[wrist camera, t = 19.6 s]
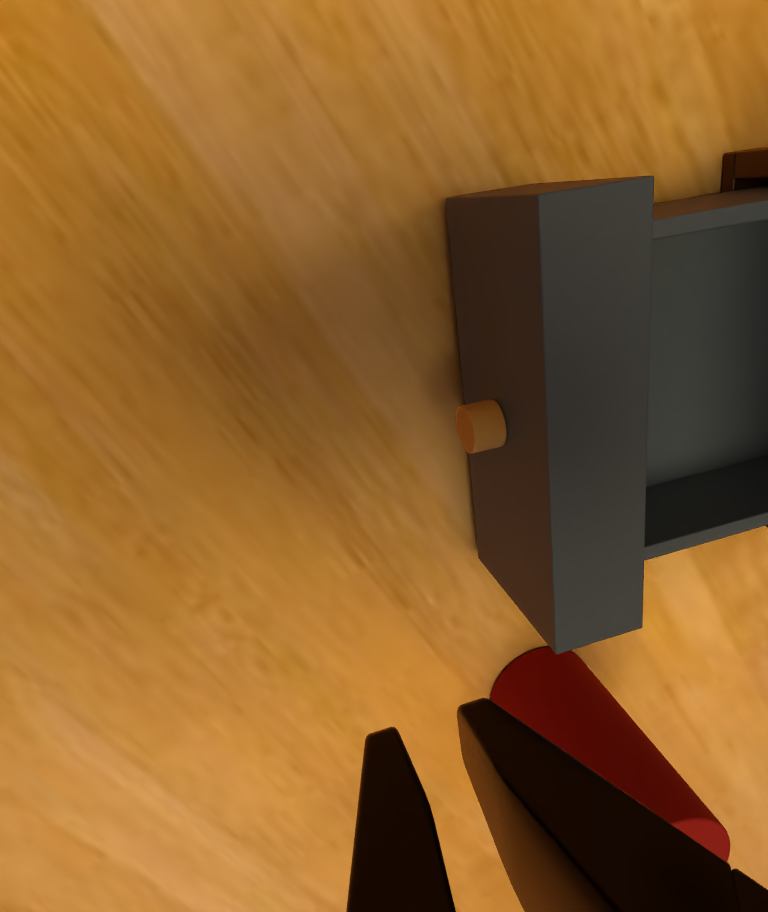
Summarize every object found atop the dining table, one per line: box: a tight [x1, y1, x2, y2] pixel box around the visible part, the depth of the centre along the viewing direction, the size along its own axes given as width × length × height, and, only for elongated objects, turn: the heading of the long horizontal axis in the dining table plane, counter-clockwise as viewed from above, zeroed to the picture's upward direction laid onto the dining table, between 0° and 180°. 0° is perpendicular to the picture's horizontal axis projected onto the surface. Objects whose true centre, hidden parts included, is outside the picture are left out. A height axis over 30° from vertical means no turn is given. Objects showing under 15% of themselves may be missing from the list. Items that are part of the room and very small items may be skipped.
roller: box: [490, 647, 730, 862], centre depth 23 cm, size 4×4×8 cm
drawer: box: [446, 176, 768, 654], centre depth 19 cm, size 13×12×6 cm
